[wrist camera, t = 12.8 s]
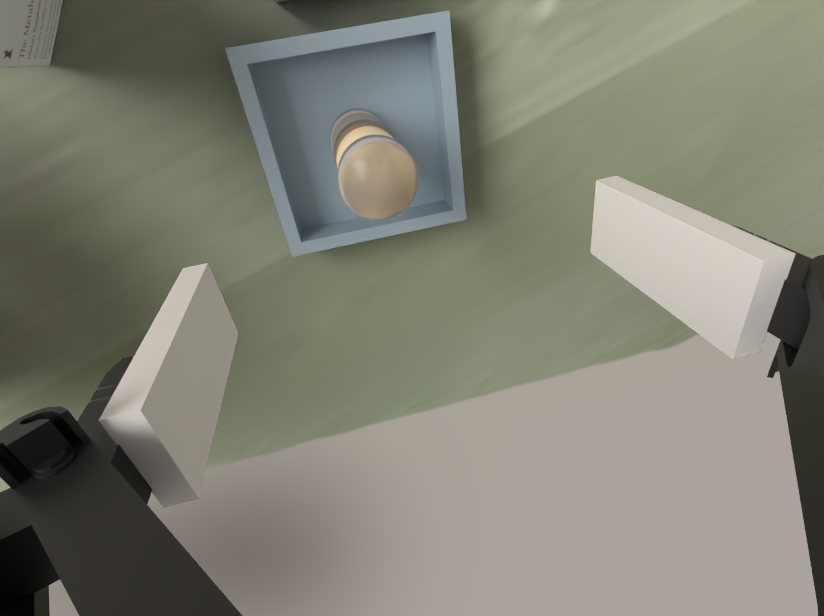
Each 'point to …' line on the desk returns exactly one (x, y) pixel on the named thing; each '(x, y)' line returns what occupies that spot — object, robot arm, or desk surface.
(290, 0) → the fuse holder
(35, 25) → the supplement box
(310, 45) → the parts tray
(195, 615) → the robot arm
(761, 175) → the desk surface
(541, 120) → the desk surface
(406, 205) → the fuse
